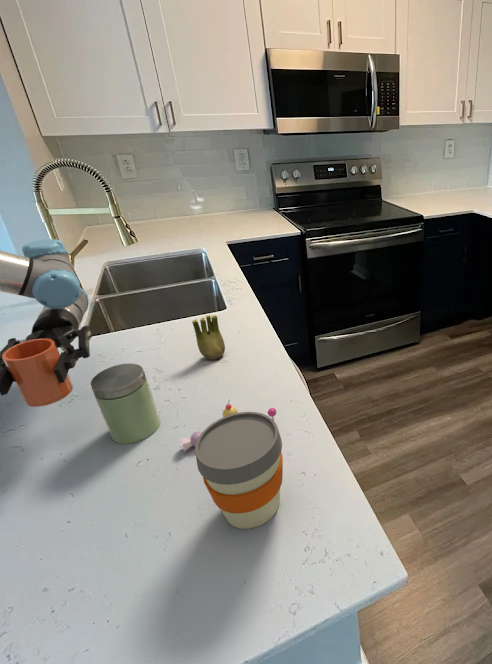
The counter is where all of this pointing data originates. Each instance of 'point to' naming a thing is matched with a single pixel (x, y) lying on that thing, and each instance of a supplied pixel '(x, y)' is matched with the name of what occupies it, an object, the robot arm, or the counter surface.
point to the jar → (130, 415)
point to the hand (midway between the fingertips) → (30, 382)
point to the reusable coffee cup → (242, 467)
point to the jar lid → (118, 381)
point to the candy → (227, 411)
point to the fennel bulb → (209, 338)
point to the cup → (36, 372)
